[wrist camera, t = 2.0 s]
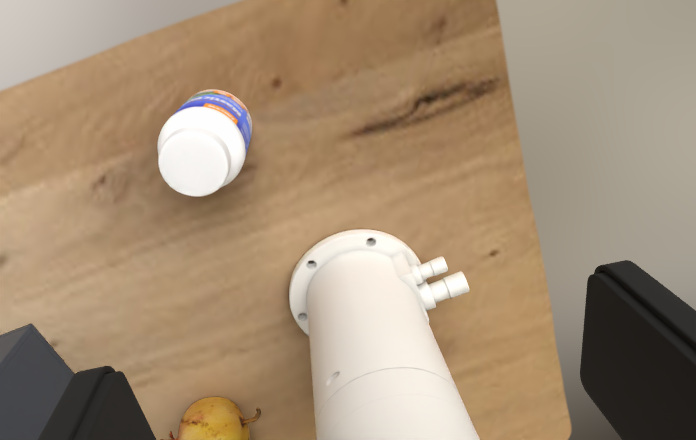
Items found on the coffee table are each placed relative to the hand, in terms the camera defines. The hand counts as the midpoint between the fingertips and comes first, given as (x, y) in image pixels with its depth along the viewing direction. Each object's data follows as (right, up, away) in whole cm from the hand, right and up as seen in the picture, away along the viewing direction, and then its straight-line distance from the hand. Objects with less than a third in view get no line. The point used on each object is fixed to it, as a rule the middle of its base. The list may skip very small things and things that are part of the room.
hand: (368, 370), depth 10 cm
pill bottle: (-10, +10, +27) cm, 31 cm away
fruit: (-14, -16, +39) cm, 44 cm away
